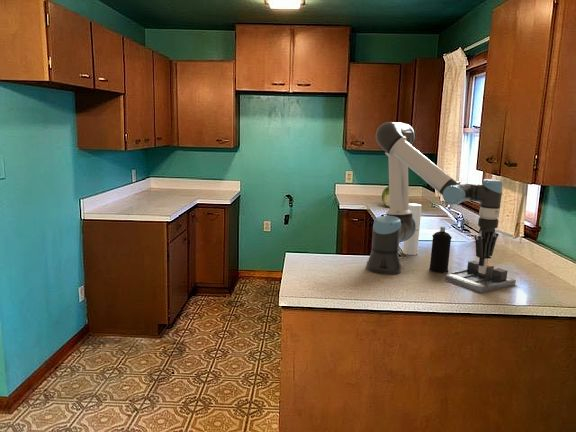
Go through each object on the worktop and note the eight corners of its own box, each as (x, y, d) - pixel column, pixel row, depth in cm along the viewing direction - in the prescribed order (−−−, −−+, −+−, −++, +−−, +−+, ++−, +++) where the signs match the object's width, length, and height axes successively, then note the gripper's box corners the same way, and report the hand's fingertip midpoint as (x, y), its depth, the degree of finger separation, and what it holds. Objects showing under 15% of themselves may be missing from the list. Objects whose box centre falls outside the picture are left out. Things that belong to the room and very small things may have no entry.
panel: (481, 293, 183) (483, 277, 182) (444, 279, 198) (445, 264, 197) (515, 284, 194) (517, 269, 193) (477, 272, 209) (479, 258, 208)
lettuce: (386, 216, 369) (373, 199, 369) (392, 206, 389) (379, 191, 389) (403, 204, 360) (389, 187, 360) (408, 195, 380) (395, 179, 380)
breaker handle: (486, 277, 195) (488, 266, 194) (478, 275, 198) (479, 263, 197) (492, 276, 197) (494, 265, 196) (484, 273, 200) (485, 262, 199)
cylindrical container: (401, 253, 236) (405, 204, 231) (403, 250, 242) (407, 202, 238) (416, 255, 233) (420, 206, 229) (418, 252, 240) (422, 204, 235)
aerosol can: (438, 274, 205) (443, 229, 201) (425, 268, 212) (429, 225, 208) (452, 272, 209) (456, 228, 205) (438, 266, 216) (442, 224, 212)
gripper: (486, 220, 185) (479, 277, 189) (506, 218, 191) (499, 273, 196) (470, 217, 191) (464, 272, 195) (490, 214, 198) (484, 268, 202)
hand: (482, 272), depth 196 cm, fingers closed
